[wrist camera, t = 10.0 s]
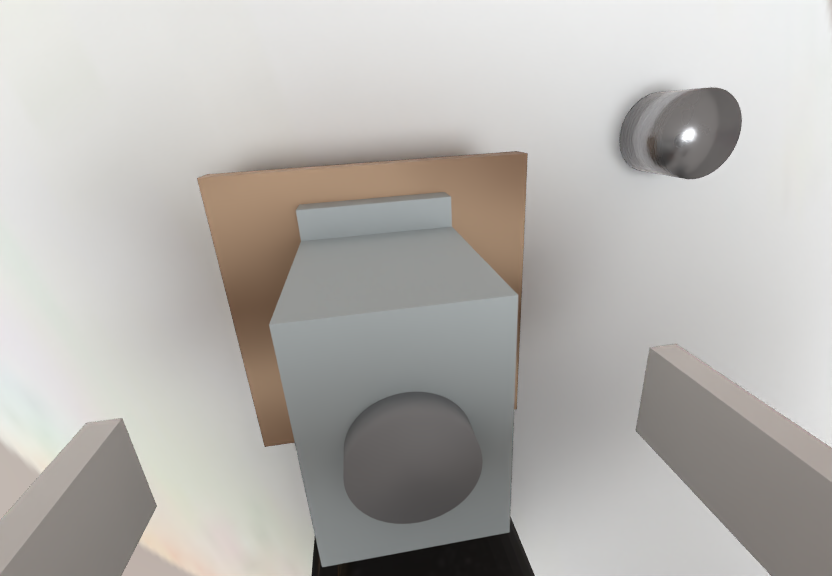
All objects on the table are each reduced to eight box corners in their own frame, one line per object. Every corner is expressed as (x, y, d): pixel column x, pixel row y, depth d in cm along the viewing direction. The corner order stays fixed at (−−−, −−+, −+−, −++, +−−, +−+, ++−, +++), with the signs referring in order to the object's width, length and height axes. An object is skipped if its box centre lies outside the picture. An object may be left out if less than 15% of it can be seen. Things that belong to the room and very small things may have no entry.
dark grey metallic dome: (680, 168, 21) (730, 175, 18) (614, 173, 21) (655, 182, 18) (694, 89, 20) (750, 85, 17) (624, 93, 19) (669, 89, 17)
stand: (483, 352, 23) (516, 409, 19) (282, 378, 22) (264, 446, 18) (484, 145, 19) (527, 153, 15) (235, 162, 18) (197, 178, 13)
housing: (451, 401, 18) (519, 586, 11) (334, 418, 18) (326, 625, 10) (444, 191, 15) (536, 261, 7) (299, 204, 14) (248, 292, 7)
